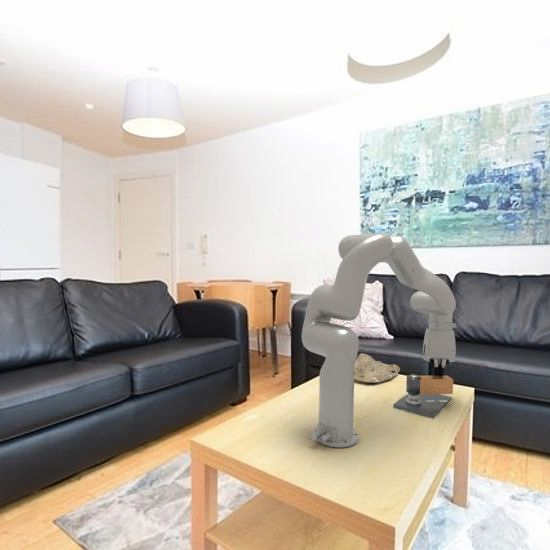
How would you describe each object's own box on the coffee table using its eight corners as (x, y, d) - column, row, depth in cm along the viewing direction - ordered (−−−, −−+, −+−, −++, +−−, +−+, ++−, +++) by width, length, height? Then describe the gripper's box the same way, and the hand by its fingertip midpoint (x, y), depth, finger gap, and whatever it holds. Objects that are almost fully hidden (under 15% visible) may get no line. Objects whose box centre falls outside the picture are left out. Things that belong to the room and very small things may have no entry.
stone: (370, 344, 178) (402, 345, 169) (373, 364, 180) (405, 367, 171) (343, 370, 155) (378, 374, 146) (346, 394, 156) (382, 399, 147)
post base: (434, 418, 120) (434, 404, 120) (393, 407, 128) (393, 394, 128) (453, 400, 135) (453, 388, 135) (415, 391, 144) (415, 379, 143)
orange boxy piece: (409, 394, 127) (409, 378, 127) (404, 389, 132) (404, 373, 132) (453, 394, 128) (453, 377, 128) (446, 389, 133) (447, 373, 132)
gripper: (458, 325, 138) (456, 375, 139) (415, 323, 139) (413, 373, 140) (466, 329, 131) (464, 382, 131) (421, 327, 132) (419, 379, 133)
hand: (438, 377), depth 136 cm, fingers closed
